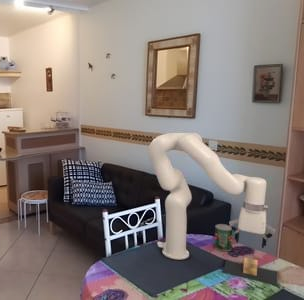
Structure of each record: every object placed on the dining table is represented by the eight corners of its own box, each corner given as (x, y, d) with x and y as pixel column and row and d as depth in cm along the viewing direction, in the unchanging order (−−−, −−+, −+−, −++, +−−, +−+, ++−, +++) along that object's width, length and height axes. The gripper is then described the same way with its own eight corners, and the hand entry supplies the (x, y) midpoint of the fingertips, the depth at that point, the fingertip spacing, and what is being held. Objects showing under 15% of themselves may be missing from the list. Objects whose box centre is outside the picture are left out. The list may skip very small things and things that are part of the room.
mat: (222, 272, 140) (222, 271, 140) (226, 260, 150) (226, 260, 150) (277, 285, 129) (277, 284, 129) (276, 271, 139) (277, 271, 139)
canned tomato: (234, 250, 159) (235, 230, 157) (218, 251, 159) (219, 230, 157) (226, 243, 167) (227, 223, 165) (211, 244, 167) (212, 224, 165)
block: (243, 272, 139) (243, 262, 138) (244, 267, 143) (244, 257, 142) (256, 275, 136) (257, 265, 135) (257, 270, 140) (257, 260, 139)
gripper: (277, 207, 133) (273, 245, 136) (231, 200, 143) (228, 236, 146) (278, 213, 127) (273, 252, 130) (229, 205, 137) (226, 242, 139)
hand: (249, 244), depth 138 cm, fingers open, 9 cm apart
